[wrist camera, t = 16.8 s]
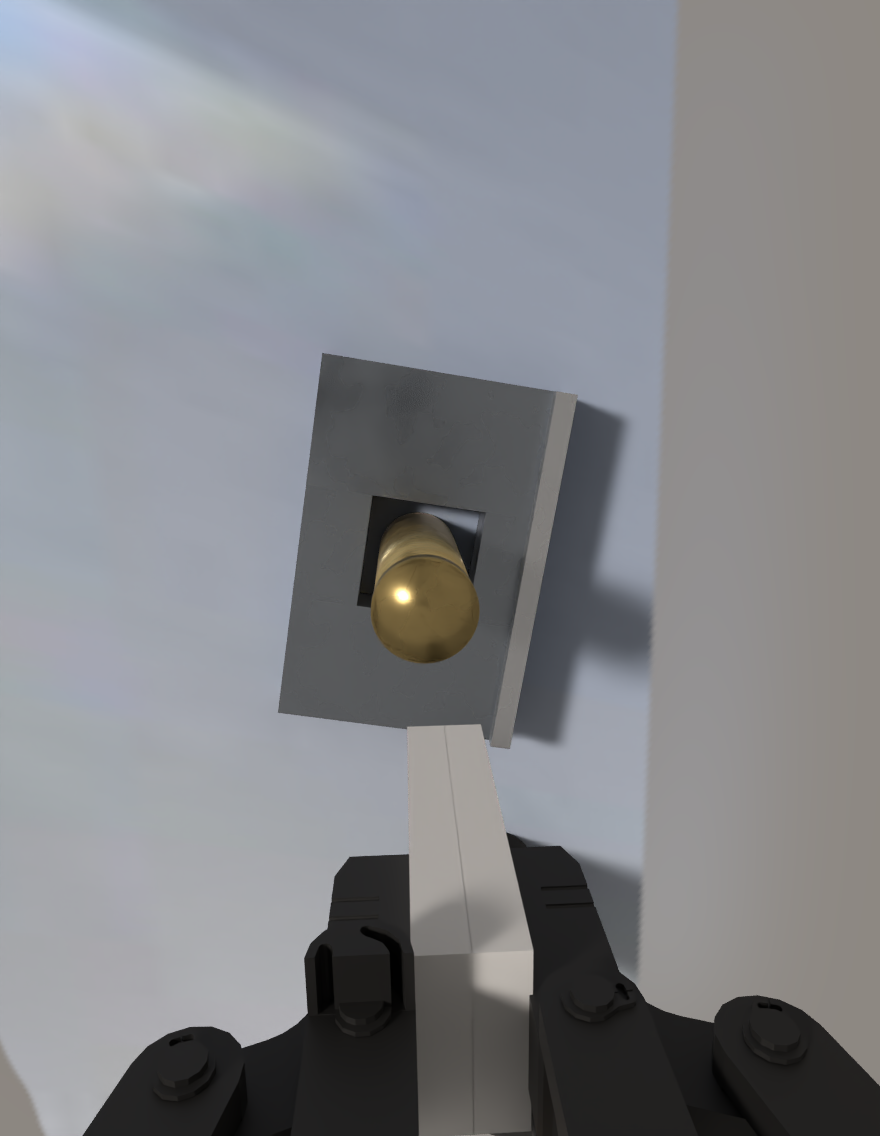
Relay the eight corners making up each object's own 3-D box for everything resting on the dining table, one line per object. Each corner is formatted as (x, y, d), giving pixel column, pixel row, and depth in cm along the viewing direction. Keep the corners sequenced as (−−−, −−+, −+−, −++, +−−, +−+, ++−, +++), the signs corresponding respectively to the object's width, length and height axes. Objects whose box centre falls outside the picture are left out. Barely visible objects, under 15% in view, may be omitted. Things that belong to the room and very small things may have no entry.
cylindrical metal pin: (384, 505, 41) (379, 550, 29) (462, 517, 41) (488, 567, 29) (373, 582, 41) (363, 655, 30) (449, 593, 42) (469, 670, 30)
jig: (327, 355, 39) (320, 352, 36) (563, 394, 40) (577, 394, 37) (285, 694, 43) (275, 718, 39) (501, 722, 44) (509, 749, 40)
